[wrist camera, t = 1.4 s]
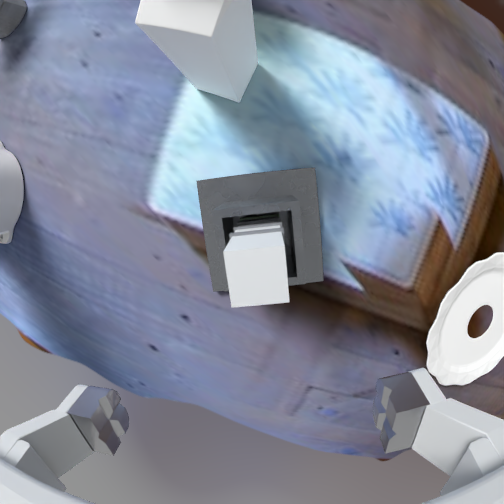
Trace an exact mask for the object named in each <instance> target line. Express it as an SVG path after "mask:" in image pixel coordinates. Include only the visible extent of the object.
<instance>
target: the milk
mask: <svg viewBox="0 0 504 504" xmlns="http://www.w3.org/2000/svg"><path fill="white" fill-rule="evenodd" d="M135 23H136V24H137V25H138V26H139V28H140V29H141V30H142V31H143V32H144V33H145V34H146V35H147V36H148V37H149V38H150V39H151V40H152V41H153V42H154V43H155V44H156V45H157V46H158V47H159V48H160V49H161V51H162V52H163V53H164V54H165V55H166V56H167V57H168V58H169V59H170V60H171V61H172V62H173V63H174V65H175V66H176V67H177V68H178V69H179V70H180V71H181V72H182V73H183V75H184V76H185V77H186V78H187V79H188V80H189V81H190V82H191V84H192V85H193V86H194V87H195V88H196V89H199V90H202V91H205V92H208V93H212V94H215V95H218V96H221V97H224V98H227V99H230V100H232V101H235V102H238V103H239V102H240V101H241V98H242V96H243V94H244V92H245V90H246V88H247V86H248V84H249V81H250V79H251V77H252V75H253V73H254V71H255V69H256V67H257V65H258V57H257V47H256V37H255V28H254V19H253V10H252V1H251V0H141V1H140V5H139V9H138V13H137V17H136V22H135Z"/></svg>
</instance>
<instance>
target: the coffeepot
mask: <svg viewBox="0 0 504 504" xmlns="http://www.w3.org/2000/svg"><path fill="white" fill-rule="evenodd" d="M26 9H27V5H26V3H25V1H24V0H0V39H1V38H4V37H7V36H8V35H10V34H11V33H12V32H13V31H14V30H15V29H16V27H17V26H18V25H19V23H20V22H21V20H22V19H23V17H24V15H25V12H26Z"/></svg>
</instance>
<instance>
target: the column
mask: <svg viewBox="0 0 504 504" xmlns="http://www.w3.org/2000/svg"><path fill="white" fill-rule="evenodd" d="M233 229H234V233H230V234H229V236H230V241H229V243H228V244H227V246H226V248H225V250H224V251H223V254H224V260H225V267H226V274H227V280H228V287H229V293H230V300H231V306H232V307H243V306H255V305H266V304H277V303H287V302H289V290H288V271H287V260H286V249H285V239H284V229H283V228H282V222H281V218H280V215H279V214H269V215H260V216H251V217H242V218H240V222H237V227H234V228H233Z"/></svg>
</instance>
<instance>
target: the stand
mask: <svg viewBox="0 0 504 504" xmlns="http://www.w3.org/2000/svg"><path fill="white" fill-rule="evenodd" d="M197 188H198V195H199V202H200V209H201V216H202V223H203V230H204V237H205V243H206V250H207V256H208V262H209V268H210V274H211V280H212V286H213V292H215V291H224V292H225V291H229V287H228V280H227V274H226V267H225V260H224V254H223V251H224V250H225V248H226V246H227V244H228V243H229V241H230V236H229V234H230V233H234V229H233V228H234V227H237V222H240V218H242V217H251V216H260V215H269V214H279V215H280V218H281V222H282V228H283V229H284V239H285V249H286V260H287V271H288V286H290V285H299V284H306V283H310V282H319V281H323V261H322V244H321V230H320V217H319V205H318V194H317V183H316V173H315V168H302V169H291V170H280V171H270V172H261V173H252V174H244V175H236V176H228V177H221V178H214V179H207V180H200V181H197Z"/></svg>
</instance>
